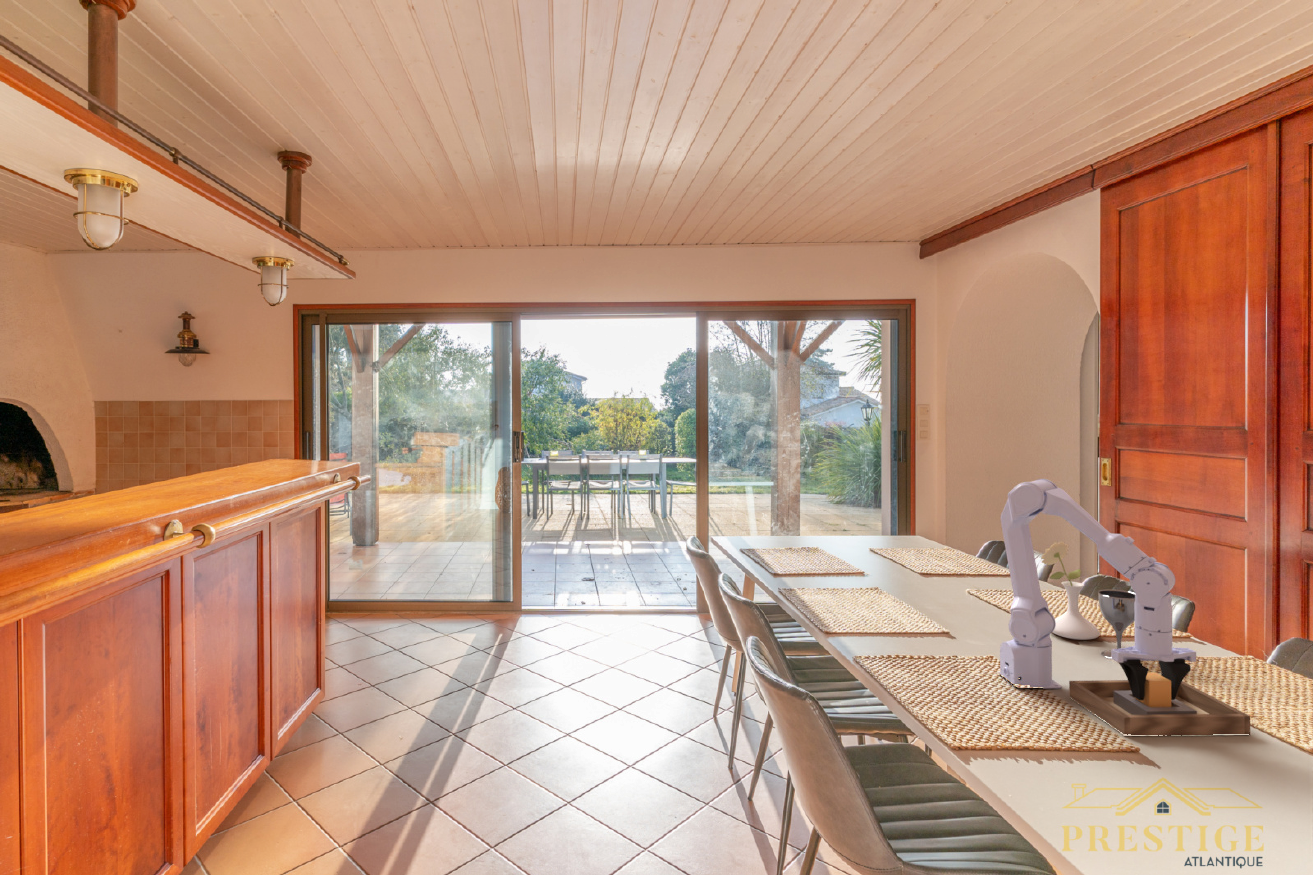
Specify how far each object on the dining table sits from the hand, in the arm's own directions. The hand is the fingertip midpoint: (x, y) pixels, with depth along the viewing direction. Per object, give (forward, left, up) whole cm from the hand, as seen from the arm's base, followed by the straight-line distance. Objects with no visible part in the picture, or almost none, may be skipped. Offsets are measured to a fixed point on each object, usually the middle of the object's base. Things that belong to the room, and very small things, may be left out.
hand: (1153, 697), depth 121 cm
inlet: (0, 0, -3) cm, 3 cm away
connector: (0, 0, -3) cm, 3 cm away
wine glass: (+14, +30, -4) cm, 33 cm away
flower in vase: (+11, +44, -4) cm, 45 cm away
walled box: (0, 0, -3) cm, 3 cm away
